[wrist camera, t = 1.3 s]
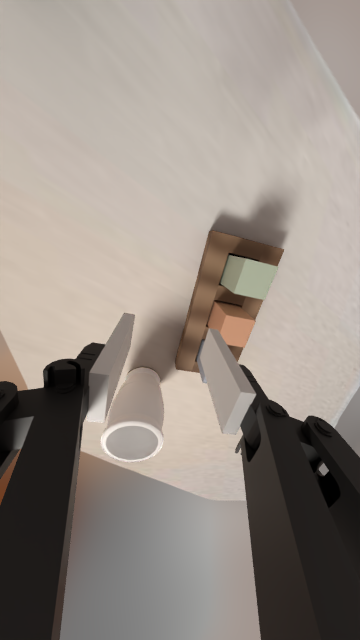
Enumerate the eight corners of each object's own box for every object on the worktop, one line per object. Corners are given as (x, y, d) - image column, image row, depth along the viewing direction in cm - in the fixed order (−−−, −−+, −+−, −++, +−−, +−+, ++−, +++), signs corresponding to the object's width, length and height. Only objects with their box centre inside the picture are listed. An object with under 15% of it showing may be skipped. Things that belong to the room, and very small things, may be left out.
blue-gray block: (202, 338, 38) (210, 360, 31) (224, 342, 39) (237, 364, 32) (196, 358, 40) (202, 382, 33) (217, 361, 41) (228, 386, 34)
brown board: (209, 231, 32) (213, 230, 29) (274, 248, 34) (284, 249, 31) (175, 361, 42) (175, 369, 40) (227, 368, 44) (231, 377, 42)
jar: (153, 402, 47) (147, 468, 33) (114, 389, 44) (91, 455, 31) (171, 371, 44) (174, 431, 30) (130, 356, 41) (113, 414, 27)
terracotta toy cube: (214, 300, 35) (226, 315, 28) (238, 305, 36) (255, 320, 29) (207, 324, 37) (216, 342, 30) (230, 328, 38) (244, 347, 31)
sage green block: (228, 255, 32) (246, 258, 25) (254, 261, 33) (278, 266, 26) (219, 283, 34) (233, 293, 27) (244, 288, 34) (264, 300, 28)
